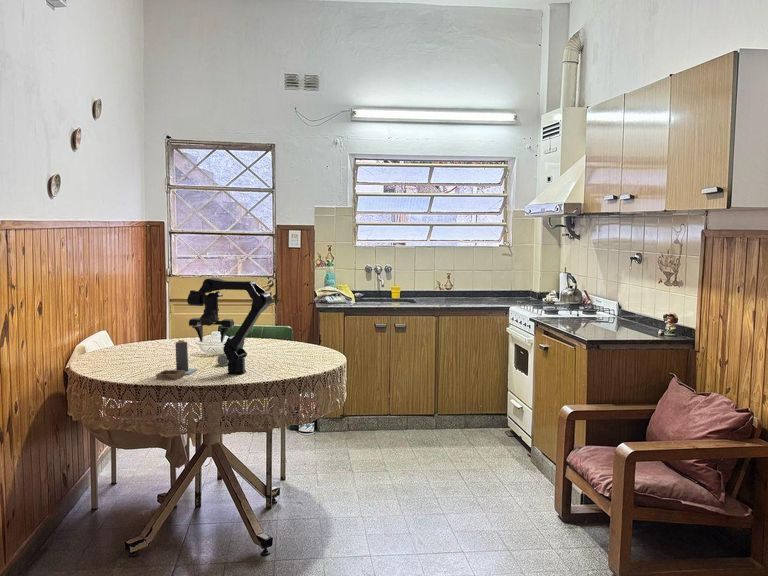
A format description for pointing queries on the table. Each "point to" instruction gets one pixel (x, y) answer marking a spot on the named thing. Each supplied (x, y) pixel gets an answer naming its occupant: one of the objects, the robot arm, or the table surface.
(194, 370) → the mat
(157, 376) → the brown square frame
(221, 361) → the flashlight
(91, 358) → the table surface
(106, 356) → the table surface
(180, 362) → the grey jar with lid
